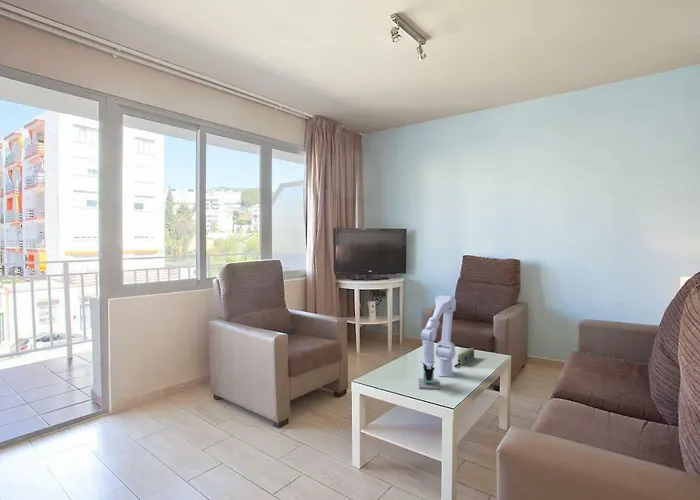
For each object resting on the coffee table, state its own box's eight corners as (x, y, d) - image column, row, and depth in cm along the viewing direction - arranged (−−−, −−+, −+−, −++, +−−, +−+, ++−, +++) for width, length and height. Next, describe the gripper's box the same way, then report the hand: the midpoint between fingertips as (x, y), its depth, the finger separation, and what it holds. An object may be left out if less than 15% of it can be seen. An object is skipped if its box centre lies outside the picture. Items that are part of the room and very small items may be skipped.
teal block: (423, 379, 197) (423, 369, 197) (433, 379, 196) (433, 370, 196) (423, 382, 192) (423, 373, 192) (433, 383, 191) (433, 373, 191)
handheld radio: (475, 358, 237) (458, 368, 218) (470, 357, 239) (453, 368, 220) (474, 348, 237) (457, 357, 218) (469, 347, 239) (452, 356, 221)
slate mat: (418, 380, 201) (418, 378, 201) (437, 381, 199) (437, 379, 199) (419, 388, 189) (419, 386, 189) (439, 389, 187) (439, 387, 187)
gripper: (420, 348, 201) (420, 373, 202) (420, 356, 187) (421, 383, 187) (433, 348, 200) (433, 373, 200) (435, 356, 186) (435, 383, 186)
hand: (428, 378), depth 194 cm, fingers closed on teal block, 5 cm apart
